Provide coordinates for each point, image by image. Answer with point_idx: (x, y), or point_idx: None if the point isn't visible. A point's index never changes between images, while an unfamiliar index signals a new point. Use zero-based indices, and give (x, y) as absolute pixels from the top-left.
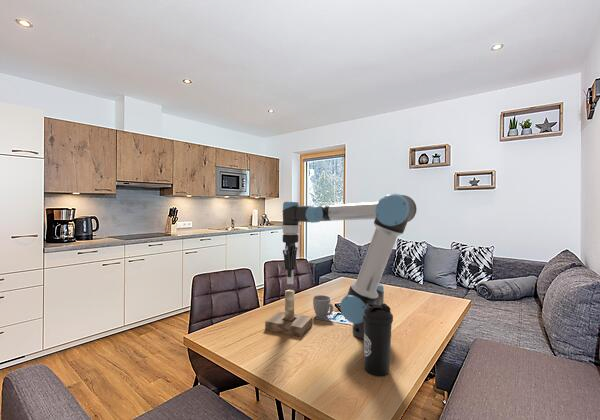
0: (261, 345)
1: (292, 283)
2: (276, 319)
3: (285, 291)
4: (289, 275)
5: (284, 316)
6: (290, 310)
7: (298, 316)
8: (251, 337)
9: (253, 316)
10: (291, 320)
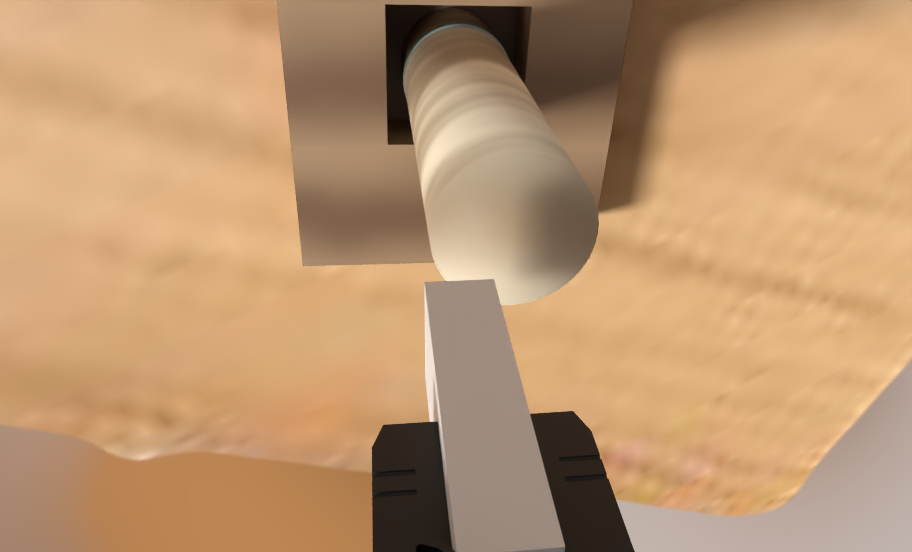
0: (847, 114)
1: (484, 288)
2: None
3: (557, 286)
4: (593, 464)
5: (412, 154)
6: (524, 84)
7: (341, 6)
8: (724, 241)
9: (354, 408)
10: (493, 36)
